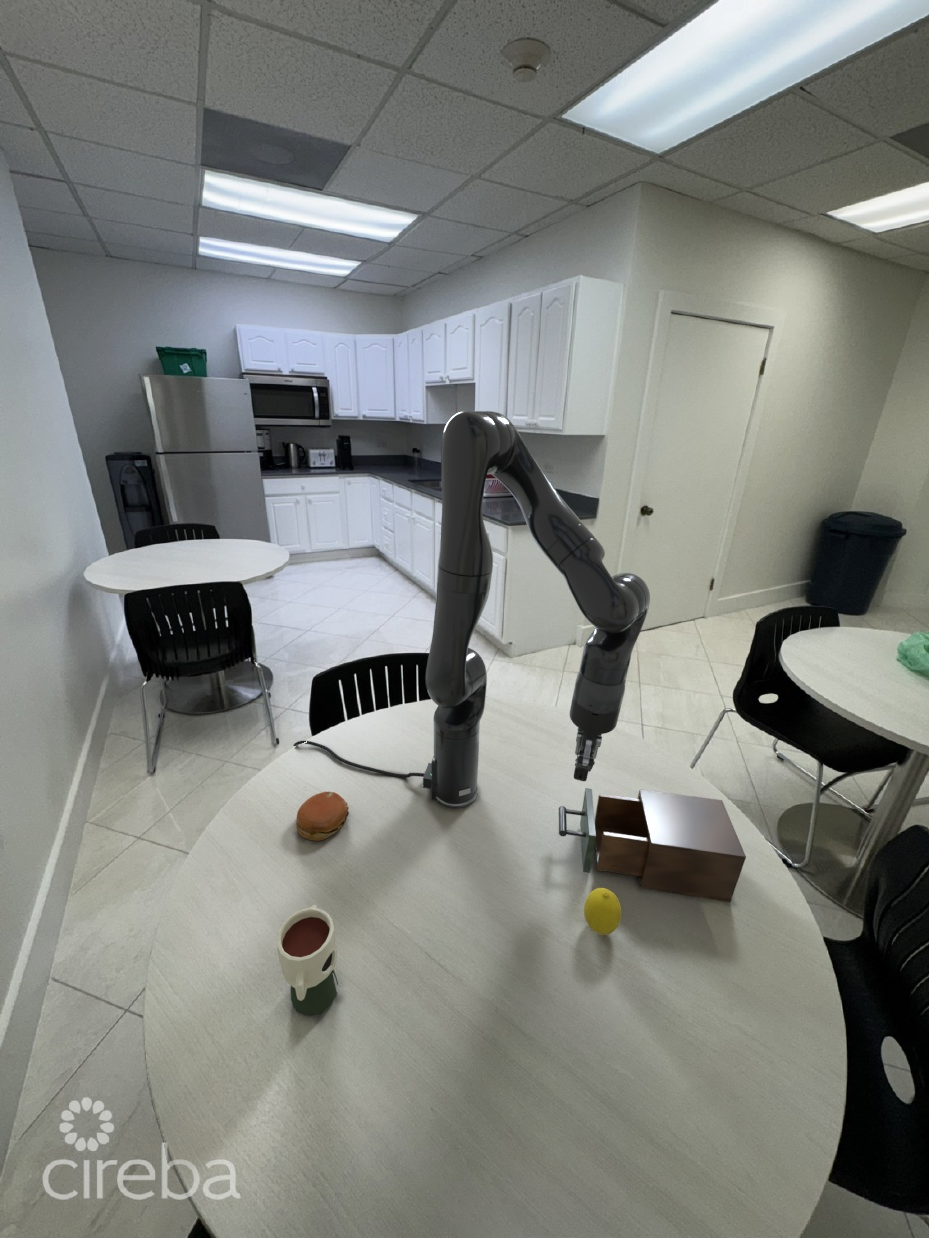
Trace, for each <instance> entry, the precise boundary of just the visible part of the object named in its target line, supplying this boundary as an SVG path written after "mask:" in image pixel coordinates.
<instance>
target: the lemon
mask: <svg viewBox="0 0 929 1238" xmlns="http://www.w3.org/2000/svg"><path fill="white" fill-rule="evenodd" d="M583 906H584V907H583V914H584V919H585V921H586V924H587V926H588V927H589V928H590V929H591V930H592V931H593V932H595V933H596V934H598V935H603V936H604V935H605V936H606V935H610V934H612V933H614V932H616V930H617V929H618V927H619V926H620V922H621V919H622V908H621V902H620V900H619V898H618V897H617V895H616V894H615V893H614V892H613V891H611V890H610V889H608V888H606V887H604V888H603V887H598V888H594V889H593V890H592V891H591V892H590V893H589V894H588V896H587V897H586V899H585V901H584V905H583Z"/></svg>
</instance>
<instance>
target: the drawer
mask: <svg viewBox="0 0 929 1238" xmlns="http://www.w3.org/2000/svg"><path fill="white" fill-rule="evenodd" d="M584 789H585V790H584V793H583V801H582V808H581V810H577V809H569V808H567V807H565V806H564V805H561V806H559V807H558V835H559V836H561V837H566V836H567V835H568V836H574V837H575V836H576V837H580V847H581V861H582V862H581V863H582V864H581V865H582V872H583V873H587V874H590V873H591V869H592V862H593V857H594V851H595V858H596V859H595V860H596V868H597V869H596V870H598V871H603V872H610V873H616V874H623V875H629V876H636V877H639V876H641V877H642V874H643V870H644V865H645V861H646V857H647V852H648V848H649V844H650V842H649V837H648V832H647V828H646V823H645V818H644V814H643V809H642V804H641V800H640V799H638V797H630V796H624V795H623V796H622V795H616V794H615V795H614V794H606V793H600V792H599V793H598V797H597V803H596V804H597V805H596V809H594V796H593V789H592V788H587V787H585V788H584ZM567 815H573V816H574V815H575V816H580V821H579V827H580V831H578V830H573V829H568V827H567V825H568V824H567V823H568V822H567Z"/></svg>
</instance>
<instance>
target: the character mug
mask: <svg viewBox="0 0 929 1238" xmlns="http://www.w3.org/2000/svg"><path fill="white" fill-rule="evenodd" d="M337 947H338V946H337V943H336V933H335V927H334V922H333V919H332V918H331V916H330V915H329V913H328V912H326V911H325V910H323V909H322V908H319V907H318V905H316V904H313V905H312V906H311V907H307V908H303V909H299V910H298V911H296V912H294V913H293V914H291V915H290V916H289V917H288V918H287V919H286V920H285V921H284V922H283V923H282V924H281V926H280V929H279V930H278V932H277V935H276V949H277V955H278V959H279V965H280V969H281V974H282V976H283V979H284V980H285V983H286V984H287V985H289V986H290V1001H291V1004H292V1009H294V1010H295V1011H296V1012H297V1013H298V1014H299V1015H302V1016H309V1017H312V1016H316V1015H321V1014H323V1013H324V1012H326V1010H328V1008H330V1007H331V1006H332V1005H333V1003H334V1001H335V999H336V997H337V995H338V992H337V987H336V984H337V986H339V981H338V978H337V975H336V971H335V967H336V964H337V960H338V949H337ZM334 978H335V979H334ZM335 981H336V984H335Z"/></svg>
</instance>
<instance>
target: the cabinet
mask: <svg viewBox="0 0 929 1238" xmlns="http://www.w3.org/2000/svg"><path fill="white" fill-rule="evenodd" d="M637 798H638V799H640V800H641V804H642V809H643V814H644V818H645V823H646V828H647V832H648V837H649V842H650V844H649V848H648V852H647V857H646V861H645V865H644V870H643V874H642V877H641V876H638V879H639V885H640V889H645V890H652V891H657V892H664V893H671V894H677V895H682V896H689V897H696V898H701V899H707V900H713V901H714V900H715V901H720V902H726V903H731V902H732V899H733V896H734V894H735V891H736V888H737V885H738V881H739V878H740V876H741V873H742V871H743V867H744V864H745V861H746V859H747V856H746V854H745V851H744V848H743V846H742V844H741V841H740V839H739V837H738V835H737V832H736V829H735V828H734V824H733V822H732V820H731V819H730V816H729V813H728V811H727V808H726V806H725V803H724V801H723V799H717V798H708V797H702V796H696V795H695V796H694V795H686V794H678V793H671V792H663V791H656V790H649V789H641V788H639V790H638V795H637Z"/></svg>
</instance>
